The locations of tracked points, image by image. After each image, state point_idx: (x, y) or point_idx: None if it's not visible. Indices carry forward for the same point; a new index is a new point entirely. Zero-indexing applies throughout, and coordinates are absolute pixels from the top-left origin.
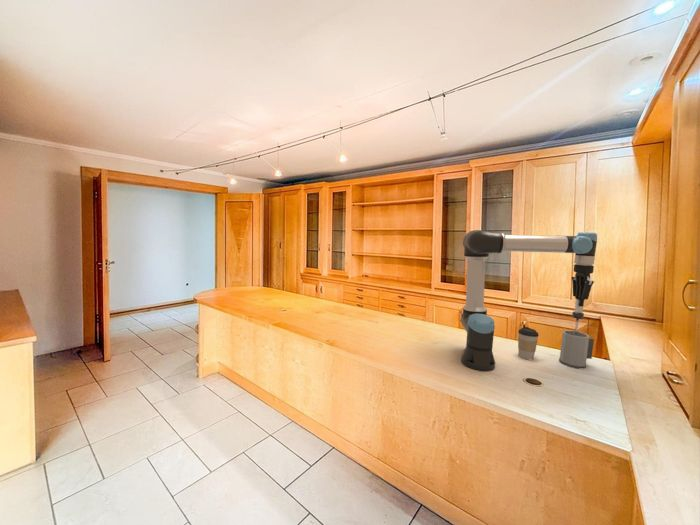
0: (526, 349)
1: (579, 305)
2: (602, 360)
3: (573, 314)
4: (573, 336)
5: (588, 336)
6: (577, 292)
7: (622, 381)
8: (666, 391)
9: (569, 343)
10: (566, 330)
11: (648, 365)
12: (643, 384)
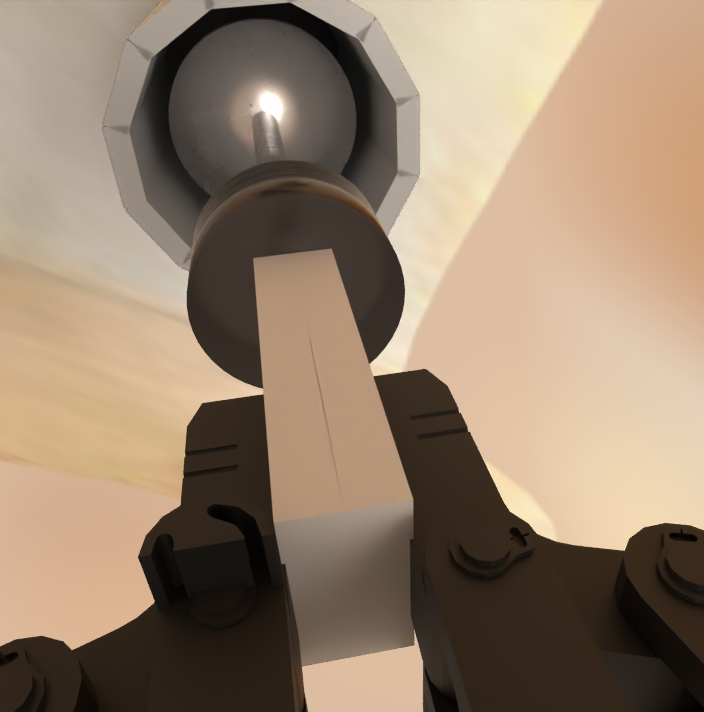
0: None
1: (229, 412)
2: (398, 341)
3: (266, 184)
4: (122, 57)
5: None
6: None
7: (30, 298)
8: (3, 460)
9: (157, 8)
10: (401, 85)
11: None
12: (49, 396)
